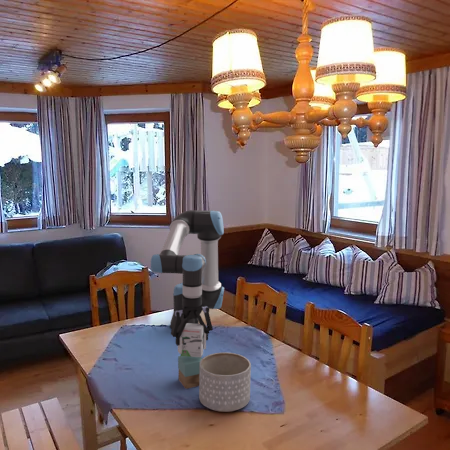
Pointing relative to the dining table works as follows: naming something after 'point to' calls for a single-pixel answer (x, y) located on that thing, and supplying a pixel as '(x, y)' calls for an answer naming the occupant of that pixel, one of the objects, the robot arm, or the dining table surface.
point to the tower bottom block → (189, 380)
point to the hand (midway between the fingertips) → (191, 350)
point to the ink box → (192, 340)
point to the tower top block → (189, 365)
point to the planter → (224, 381)
